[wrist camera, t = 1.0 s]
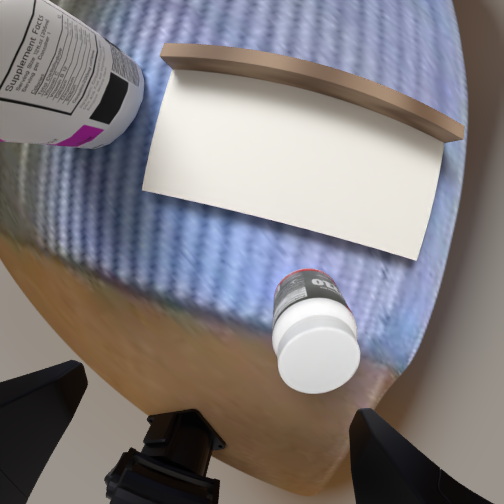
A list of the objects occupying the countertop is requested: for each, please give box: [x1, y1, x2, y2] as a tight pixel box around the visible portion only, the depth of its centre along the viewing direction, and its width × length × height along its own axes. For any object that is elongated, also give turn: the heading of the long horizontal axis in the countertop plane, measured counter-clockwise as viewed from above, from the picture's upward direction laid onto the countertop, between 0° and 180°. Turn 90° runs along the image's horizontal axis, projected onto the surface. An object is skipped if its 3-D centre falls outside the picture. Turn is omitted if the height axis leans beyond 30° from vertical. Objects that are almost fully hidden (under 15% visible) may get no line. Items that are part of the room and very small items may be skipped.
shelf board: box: [142, 43, 465, 261], centre depth 16 cm, size 20×10×4 cm, turn 77°
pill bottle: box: [272, 268, 360, 394], centre depth 16 cm, size 5×5×8 cm
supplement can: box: [0, 0, 145, 149], centre depth 11 cm, size 8×8×15 cm
